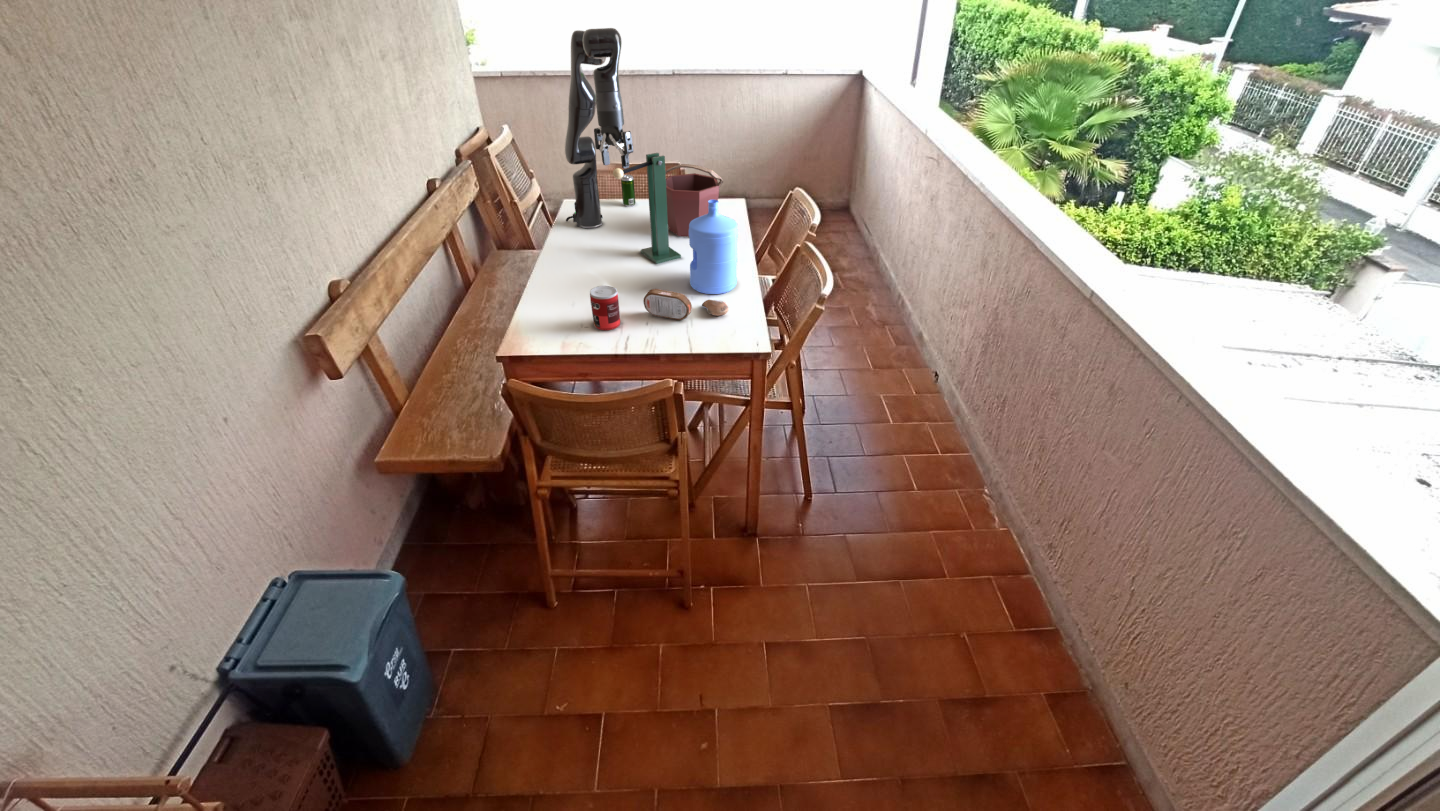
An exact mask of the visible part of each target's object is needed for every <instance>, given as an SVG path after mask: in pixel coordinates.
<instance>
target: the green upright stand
mask: <svg viewBox="0 0 1440 811" xmlns="http://www.w3.org/2000/svg"><path fill="white" fill-rule="evenodd" d="M654 156H657V157H654ZM651 157H652V165H649V166H646V174H647V175H646V177H647V193H648V194H647V195H648V208H649V209H648V210H649V226H650V242H651V246H650V247H646V248H641V249H640V254H641V255H643V256H644V257H646V258H647V259H649V260H650V261H651V262H652V263H654V264H655V265H658V264H663V263H667V262H670V261H674V260H675V261H676V260H679V259H682V256H681V253H679V252H678V251H676V250H674V249H673V248H671V247H670V241H669V227H668V216H667V194H666V178H667V175H666V174H667V173H666V172H665V171H666V156H665V155H660V153H659V152H652V153H647V154H645V159H646V161H645V162H647V161H650V158H651Z"/></svg>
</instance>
